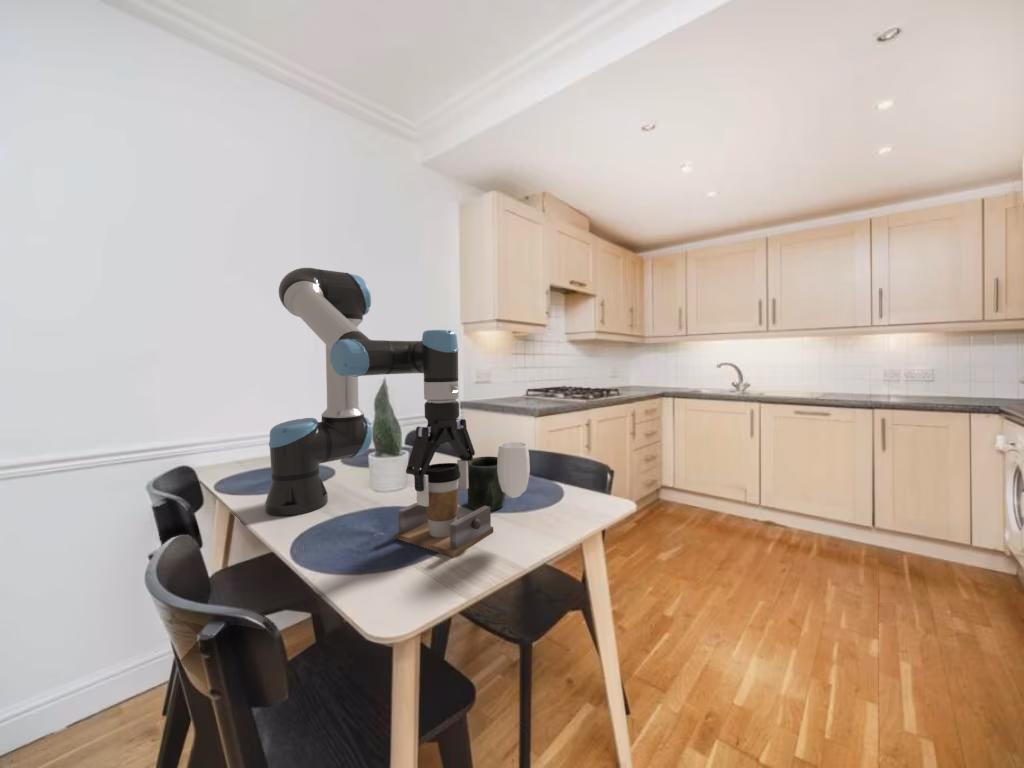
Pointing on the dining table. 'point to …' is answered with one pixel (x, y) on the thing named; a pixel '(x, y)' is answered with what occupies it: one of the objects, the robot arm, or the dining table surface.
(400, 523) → the holder
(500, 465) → the cup
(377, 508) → the dining table surface
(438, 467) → the coffee cup
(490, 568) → the dining table surface
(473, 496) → the mug
